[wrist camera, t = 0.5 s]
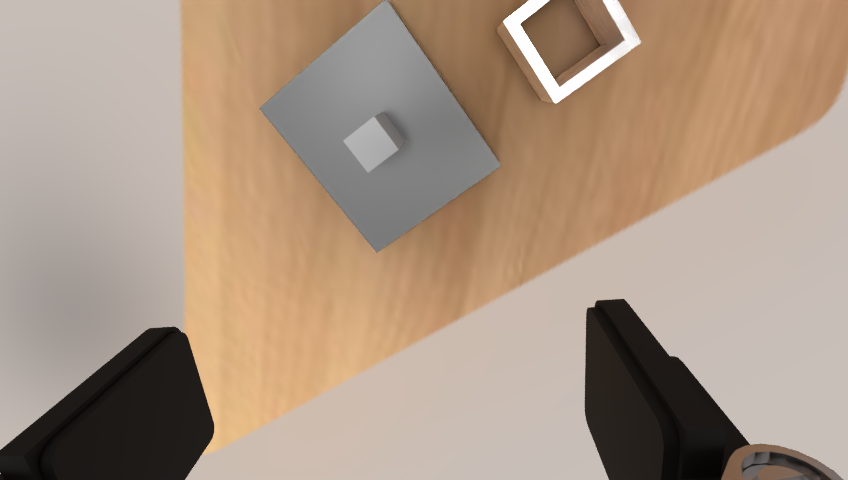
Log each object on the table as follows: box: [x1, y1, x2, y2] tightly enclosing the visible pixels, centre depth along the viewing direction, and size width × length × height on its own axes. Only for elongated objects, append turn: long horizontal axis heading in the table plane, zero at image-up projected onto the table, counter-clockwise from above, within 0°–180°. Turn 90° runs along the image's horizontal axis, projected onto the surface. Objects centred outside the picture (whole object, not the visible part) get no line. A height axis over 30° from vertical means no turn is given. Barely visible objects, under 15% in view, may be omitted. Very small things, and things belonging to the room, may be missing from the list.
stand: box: [259, 0, 501, 252], centre depth 33 cm, size 12×14×6 cm
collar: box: [496, 0, 641, 104], centre depth 30 cm, size 6×6×5 cm
